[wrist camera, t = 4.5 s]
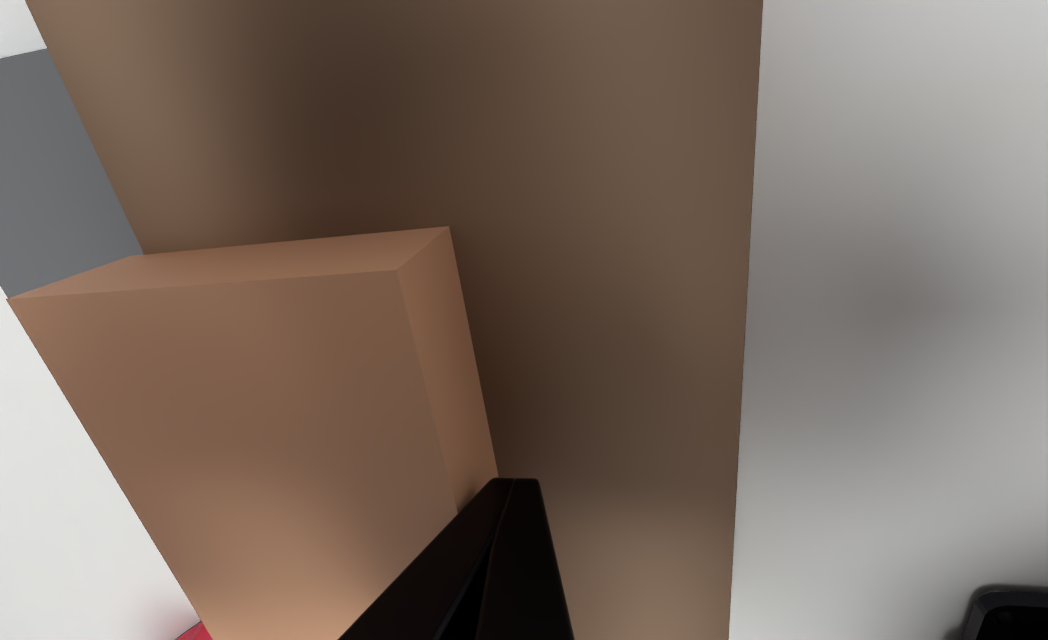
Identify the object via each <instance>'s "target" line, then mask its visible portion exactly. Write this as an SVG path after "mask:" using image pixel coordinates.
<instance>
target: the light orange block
mask: <svg viewBox="0 0 1048 640" xmlns="http://www.w3.org/2000/svg"><path fill="white" fill-rule="evenodd" d="M6 300H7V302H8V303H9V305H10V307H11V308H12V310H13V312H14V313H15V315H16V316H17V318H18V320H19V321H20V323H21V325H22V326H23V328H24V330H25V331H26V333H27V335H28V336H29V338H30V339H31V341H32V343H33V344H34V346H35V348H36V349H37V351H38V353H39V354H40V356H41V358H42V359H43V361H44V363H45V364H46V366H47V367H48V369H49V371H50V372H51V374H52V376H53V377H54V379H55V381H56V382H57V384H58V386H59V387H60V389H61V390H62V392H63V394H64V395H65V397H66V399H67V400H68V402H69V404H70V405H71V407H72V409H73V410H74V412H75V414H76V415H77V417H78V418H79V420H80V422H81V423H82V425H83V427H84V428H85V430H86V432H87V433H88V435H89V437H90V438H91V440H92V441H93V443H94V445H95V446H96V448H97V450H98V451H99V453H100V455H101V456H102V458H103V460H104V461H105V463H106V465H107V466H108V468H109V469H110V471H111V473H112V474H113V476H114V478H115V479H116V481H117V483H118V484H119V486H120V488H121V489H122V491H123V492H124V494H125V496H126V497H127V499H128V501H129V502H130V504H131V506H132V507H133V509H134V511H135V512H136V514H137V516H138V517H139V519H140V520H141V522H142V524H143V525H144V527H145V529H146V530H147V532H148V534H149V535H150V537H151V539H152V540H153V542H154V543H155V545H156V547H157V548H158V550H159V552H160V553H161V555H162V557H163V558H164V560H165V562H166V563H167V565H168V567H169V568H170V570H171V571H172V573H173V575H174V576H175V578H176V580H177V581H178V583H179V585H180V586H181V588H182V590H183V591H184V593H185V594H186V596H187V598H188V599H189V601H190V603H191V604H192V606H193V608H194V609H195V611H196V613H197V614H198V616H199V618H200V619H201V621H202V622H203V624H204V626H205V627H206V629H207V631H208V632H209V634H210V636H211V637H212V639H213V640H337V639H338V638H339V637H340V636H341V635H342V634H343V633H344V632H345V631H346V630H347V629H348V628H349V627H350V626H351V625H352V624H353V623H354V622H355V621H356V620H357V619H358V617H359V616H360V615H361V614H362V613H363V612H364V611H365V610H366V609H367V608H368V607H369V606H370V605H371V604H372V603H373V602H374V601H375V600H376V599H377V598H378V597H379V596H380V594H381V593H382V592H383V591H384V590H385V589H386V588H387V587H388V586H389V585H390V584H391V583H392V582H393V581H394V580H395V579H396V578H397V577H398V576H399V575H400V574H401V572H402V571H403V570H404V569H405V568H406V567H407V566H408V565H409V564H410V563H411V562H412V561H413V560H414V559H415V558H416V557H417V556H418V555H419V554H420V553H421V552H422V550H423V549H424V548H425V547H426V546H427V545H428V544H429V543H430V542H431V541H432V540H433V539H434V538H435V537H436V536H437V535H438V534H439V533H440V532H441V531H442V530H443V528H444V527H445V526H446V525H447V524H448V523H449V522H450V521H451V520H452V519H453V518H454V517H455V516H456V515H457V514H458V513H459V512H460V511H461V510H462V509H463V508H464V506H465V505H466V504H467V503H468V502H469V501H470V500H471V499H472V498H473V497H474V496H475V495H476V494H477V493H478V492H479V491H480V490H481V489H482V488H483V487H484V486H485V485H486V483H487V482H488V481H489V480H491V479H492V478H496V477H499V476H498V471H497V466H496V461H495V456H494V451H493V446H492V441H491V436H490V431H489V426H488V421H487V415H486V410H485V405H484V400H483V395H482V390H481V385H480V380H479V375H478V370H477V365H476V360H475V355H474V350H473V344H472V339H471V334H470V329H469V324H468V319H467V314H466V309H465V304H464V299H463V294H462V289H461V284H460V278H459V273H458V268H457V263H456V258H455V253H454V248H453V243H452V238H451V233H450V228H449V226H445V227H434V228H424V229H413V230H402V231H392V232H381V233H370V234H360V235H349V236H338V237H328V238H317V239H306V240H296V241H285V242H274V243H264V244H253V245H242V246H232V247H221V248H211V249H200V250H189V251H179V252H168V253H157V254H147V255H135V256H129V257H126V258H123V259H120V260H117V261H114V262H112V263H109V264H106V265H103V266H100V267H97V268H94V269H92V270H89V271H86V272H83V273H80V274H77V275H74V276H71V277H69V278H66V279H63V280H60V281H57V282H54V283H51V284H49V285H46V286H43V287H40V288H37V289H34V290H31V291H28V292H26V293H23V294H20V295H17V296H14V297H11V298H8V299H6Z"/></svg>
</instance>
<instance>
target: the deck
mask: <svg viewBox="0 0 1048 640" xmlns="http://www.w3.org/2000/svg"><path fill="white" fill-rule="evenodd" d="M25 1H26V4H27V6H28V8H29V10H30V12H31V14H32V16H33V19H34V21H35V23H36V25H37V27H38V29H39V31H40V33H41V36H42V38H43V40H44V42H45V44H46V46H47V48H48V51H49V53H50V55H51V57H52V59H53V61H54V63H55V66H56V68H57V70H58V72H59V74H60V76H61V78H62V80H63V83H64V85H65V87H66V89H67V91H68V93H69V95H70V98H71V100H72V102H73V104H74V106H75V108H76V110H77V113H78V115H79V117H80V119H81V121H82V123H83V125H84V127H85V130H86V132H87V134H88V136H89V138H90V140H91V142H92V145H93V147H94V149H95V151H96V153H97V155H98V157H99V160H100V162H101V164H102V166H103V168H104V170H105V172H106V174H107V177H108V179H109V181H110V183H111V185H112V187H113V189H114V192H115V194H116V196H117V198H118V200H119V202H120V204H121V207H122V209H123V211H124V213H125V215H126V217H127V219H128V221H129V224H130V226H131V228H132V230H133V232H134V234H135V236H136V239H137V241H138V243H139V245H140V247H141V249H142V251H143V254H144V255H147V254H157V253H168V252H179V251H189V250H200V249H211V248H221V247H232V246H242V245H253V244H264V243H274V242H285V241H296V240H306V239H317V238H328V237H338V236H349V235H360V234H370V233H381V232H392V231H402V230H413V229H424V228H434V227H445V226H449V228H450V233H451V238H452V243H453V248H454V253H455V258H456V263H457V268H458V273H459V278H460V284H461V289H462V294H463V299H464V304H465V309H466V314H467V319H468V324H469V329H470V334H471V339H472V344H473V350H474V355H475V360H476V365H477V370H478V375H479V380H480V385H481V390H482V395H483V400H484V405H485V410H486V415H487V421H488V426H489V431H490V436H491V441H492V446H493V451H494V456H495V461H496V466H497V471H498V476H499V478H514V479H516V478H536V479H538V480H539V483H540V487H541V491H542V496H543V500H544V504H545V509H546V513H547V518H548V522H549V527H550V531H551V535H552V540H553V544H554V549H555V553H556V558H557V562H558V566H559V571H560V575H561V580H562V584H563V589H564V593H565V597H566V602H567V606H568V611H569V615H570V620H571V624H572V628H573V633H574V637H575V640H728V639H729V621H730V602H731V583H732V565H733V546H734V528H735V509H736V491H737V472H738V454H739V435H740V417H741V398H742V380H743V361H744V343H745V324H746V305H747V287H748V268H749V250H750V231H751V213H752V194H753V176H754V157H755V139H756V120H757V102H758V83H759V65H760V46H761V27H762V9H763V0H25Z"/></svg>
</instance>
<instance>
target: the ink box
mask: <svg viewBox="0 0 1048 640" xmlns="http://www.w3.org/2000/svg"><path fill="white" fill-rule="evenodd" d="M177 640H213V639H212V637H211V636H210V634H209V632H208V631H207V629H206V627H205V626H204V624H203V622H202V621H201V622H200V623H199V624H197V625H196V626H194V627H193V628H191V629H190V630H188V631H187V632H185V633H184V634H183V635H181V636H180V637H179V638H178V639H177Z"/></svg>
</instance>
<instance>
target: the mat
mask: <svg viewBox="0 0 1048 640" xmlns="http://www.w3.org/2000/svg"><path fill="white" fill-rule="evenodd" d="M135 255H144V254H143V251H142V249H141V247H140V245H139V243H138V241H137V239H136V236H135V234H134V232H133V230H132V228H131V226H130V224H129V221H128V219H127V217H126V215H125V213H124V211H123V209H122V207H121V204H120V202H119V200H118V198H117V196H116V194H115V192H114V189H113V187H112V185H111V183H110V181H109V179H108V177H107V174H106V172H105V170H104V168H103V166H102V164H101V162H100V160H99V157H98V155H97V153H96V151H95V149H94V147H93V145H92V142H91V140H90V138H89V136H88V134H87V132H86V130H85V127H84V125H83V123H82V121H81V119H80V117H79V115H78V113H77V110H76V108H75V106H74V104H73V102H72V100H71V98H70V95H69V93H68V91H67V89H66V87H65V85H64V83H63V80H62V78H61V76H60V74H59V72H58V70H57V68H56V66H55V63H54V61H53V59H52V57H51V55H50V53H49V51H48V48H47V49H43V50H38V51H33V52H29V53H24V54H19V55H15V56H10V57H6V58H1V59H0V286H1V287H2V289H3V291H4V292H5V294H6V296H7V297H8V298H11V297H14V296H17V295H20V294H23V293H26V292H28V291H31V290H34V289H37V288H40V287H43V286H46V285H49V284H51V283H54V282H57V281H60V280H63V279H66V278H69V277H71V276H74V275H77V274H80V273H83V272H86V271H89V270H92V269H94V268H97V267H100V266H103V265H106V264H109V263H112V262H114V261H117V260H120V259H123V258H126V257H129V256H135Z"/></svg>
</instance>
